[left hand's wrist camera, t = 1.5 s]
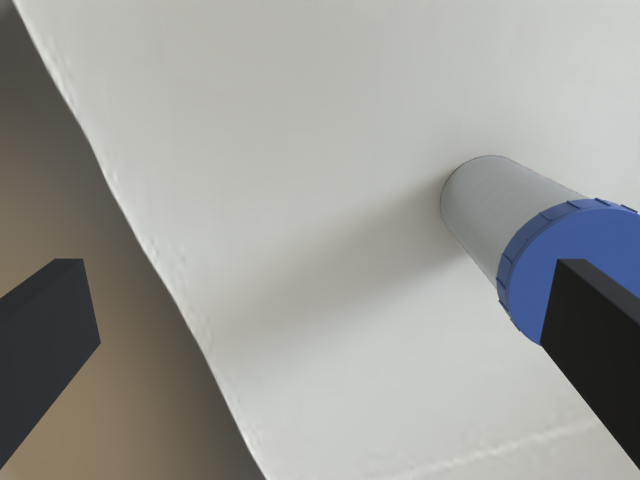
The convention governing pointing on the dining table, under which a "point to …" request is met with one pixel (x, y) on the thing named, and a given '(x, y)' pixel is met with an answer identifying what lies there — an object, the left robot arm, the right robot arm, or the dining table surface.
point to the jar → (495, 206)
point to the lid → (566, 255)
